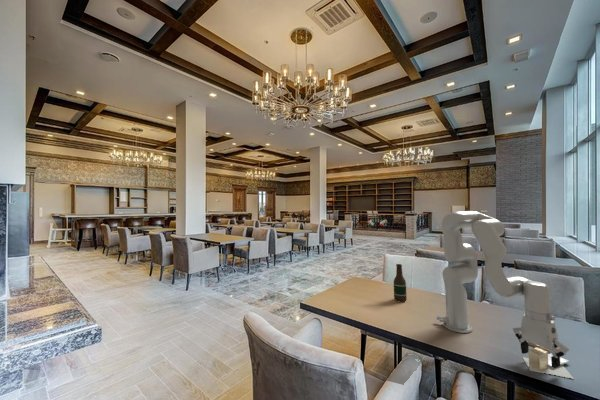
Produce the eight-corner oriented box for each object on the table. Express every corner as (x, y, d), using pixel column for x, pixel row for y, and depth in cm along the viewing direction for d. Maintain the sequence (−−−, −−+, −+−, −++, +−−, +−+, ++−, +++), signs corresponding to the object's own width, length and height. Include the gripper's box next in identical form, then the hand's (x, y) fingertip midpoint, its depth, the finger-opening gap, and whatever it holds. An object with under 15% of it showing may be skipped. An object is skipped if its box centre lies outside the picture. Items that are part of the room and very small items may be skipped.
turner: (543, 372, 94) (542, 356, 94) (526, 364, 100) (525, 348, 100) (569, 363, 99) (568, 347, 99) (551, 355, 104) (550, 340, 105)
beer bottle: (394, 302, 167) (392, 265, 168) (394, 298, 174) (392, 262, 175) (406, 303, 164) (405, 266, 165) (406, 299, 172) (405, 263, 172)
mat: (530, 370, 96) (530, 369, 96) (522, 357, 104) (522, 357, 104) (574, 379, 91) (574, 378, 91) (562, 365, 99) (562, 364, 99)
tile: (553, 350, 106) (566, 345, 109) (528, 339, 114) (540, 335, 117) (554, 355, 106) (566, 350, 109) (528, 344, 114) (540, 340, 117)
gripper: (573, 322, 91) (575, 371, 91) (518, 305, 108) (520, 346, 107) (559, 326, 89) (562, 375, 88) (506, 307, 105) (508, 349, 105)
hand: (539, 359), depth 98 cm, fingers open, 9 cm apart
